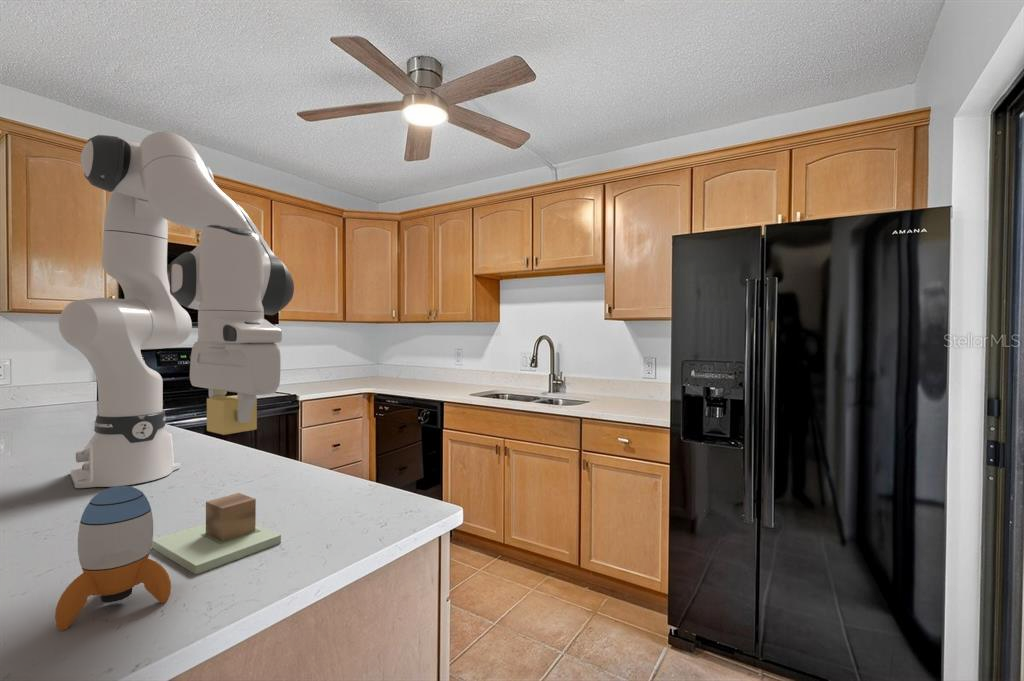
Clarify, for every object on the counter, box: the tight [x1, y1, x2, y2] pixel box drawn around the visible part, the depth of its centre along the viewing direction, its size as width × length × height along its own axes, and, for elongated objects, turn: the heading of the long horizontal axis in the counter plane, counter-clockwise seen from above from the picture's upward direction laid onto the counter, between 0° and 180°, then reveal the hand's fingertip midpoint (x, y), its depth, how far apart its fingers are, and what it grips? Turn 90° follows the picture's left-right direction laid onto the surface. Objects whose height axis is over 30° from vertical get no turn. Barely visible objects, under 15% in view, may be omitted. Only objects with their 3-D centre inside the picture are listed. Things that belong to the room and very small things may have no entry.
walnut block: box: [205, 492, 257, 542], centre depth 75 cm, size 5×5×5 cm
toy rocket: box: [54, 485, 172, 632], centre depth 58 cm, size 10×11×15 cm
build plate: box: [151, 523, 282, 575], centre depth 74 cm, size 14×12×1 cm
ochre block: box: [206, 395, 258, 436], centre depth 75 cm, size 5×5×5 cm
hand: (231, 419), depth 75 cm, fingers closed on ochre block, 5 cm apart
